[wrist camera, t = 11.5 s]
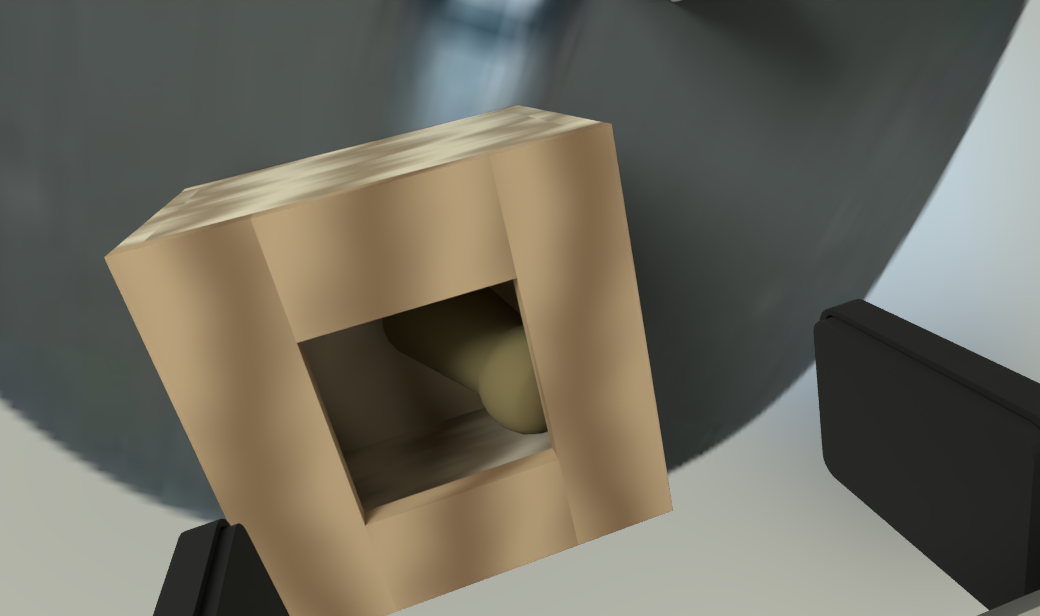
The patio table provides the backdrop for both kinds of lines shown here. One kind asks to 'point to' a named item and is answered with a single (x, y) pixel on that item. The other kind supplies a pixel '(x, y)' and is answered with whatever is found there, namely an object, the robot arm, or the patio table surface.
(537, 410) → the cork
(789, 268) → the patio table surface
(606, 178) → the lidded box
